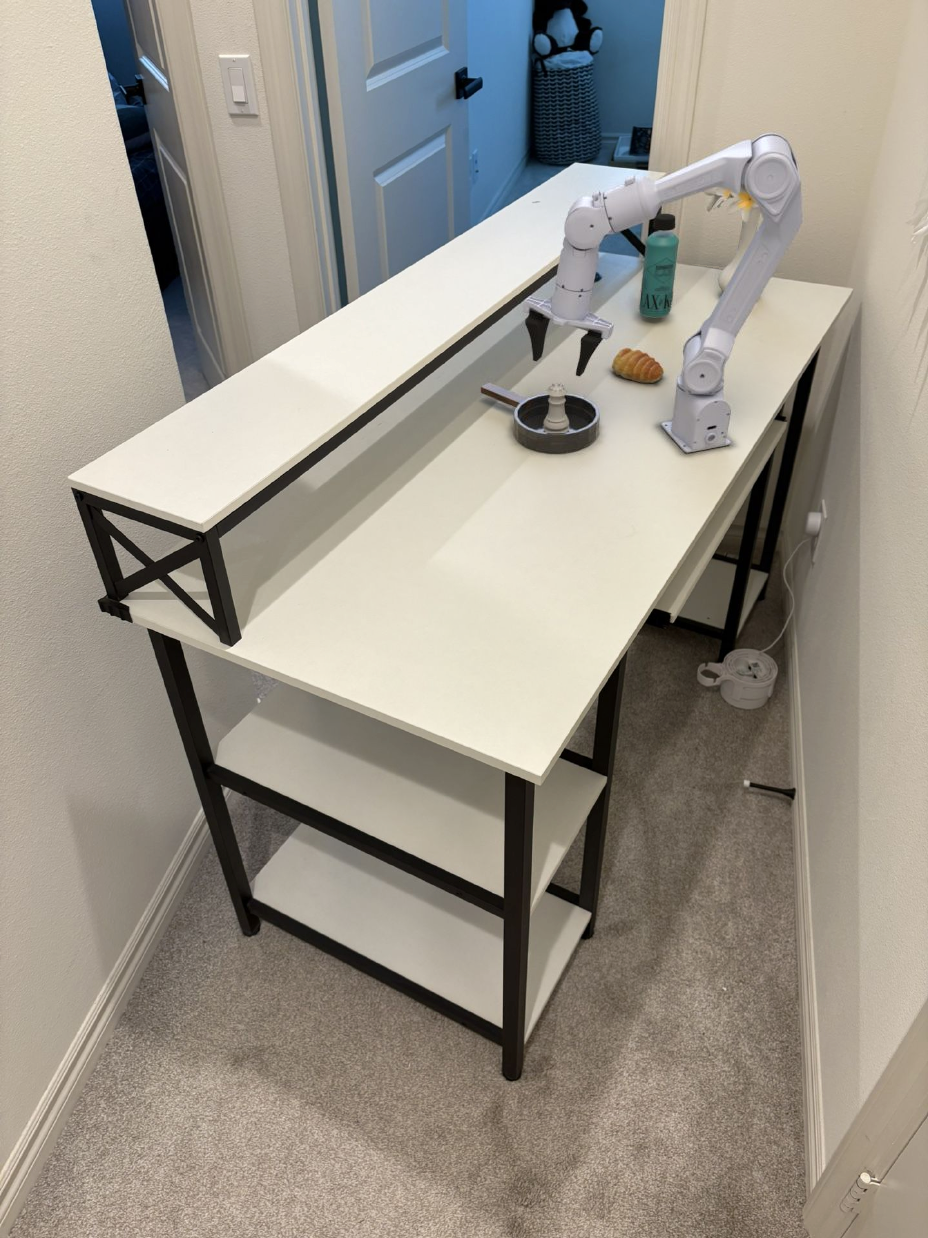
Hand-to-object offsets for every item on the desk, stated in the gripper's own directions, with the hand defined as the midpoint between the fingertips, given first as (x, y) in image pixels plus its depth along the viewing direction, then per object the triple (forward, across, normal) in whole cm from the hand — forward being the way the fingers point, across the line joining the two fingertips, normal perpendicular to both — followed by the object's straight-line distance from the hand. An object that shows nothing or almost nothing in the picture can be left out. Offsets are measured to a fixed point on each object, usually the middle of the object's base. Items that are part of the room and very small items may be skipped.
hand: (558, 366), depth 144 cm
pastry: (+9, +7, +23) cm, 26 cm away
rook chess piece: (+10, +2, -2) cm, 11 cm away
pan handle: (+10, -9, +1) cm, 13 cm away
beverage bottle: (+8, +2, +48) cm, 48 cm away
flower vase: (+6, +14, +64) cm, 66 cm away
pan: (+10, +2, -2) cm, 11 cm away
